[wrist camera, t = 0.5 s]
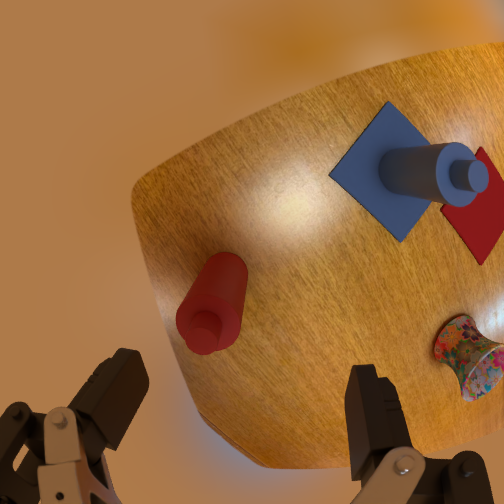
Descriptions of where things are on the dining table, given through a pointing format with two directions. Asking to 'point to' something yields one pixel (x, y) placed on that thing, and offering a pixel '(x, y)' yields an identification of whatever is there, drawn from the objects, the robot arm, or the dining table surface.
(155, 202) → the dining table surface
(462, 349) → the mug
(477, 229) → the red mat
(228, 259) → the red bottle
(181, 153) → the dining table surface
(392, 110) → the blue mat
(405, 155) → the blue bottle
